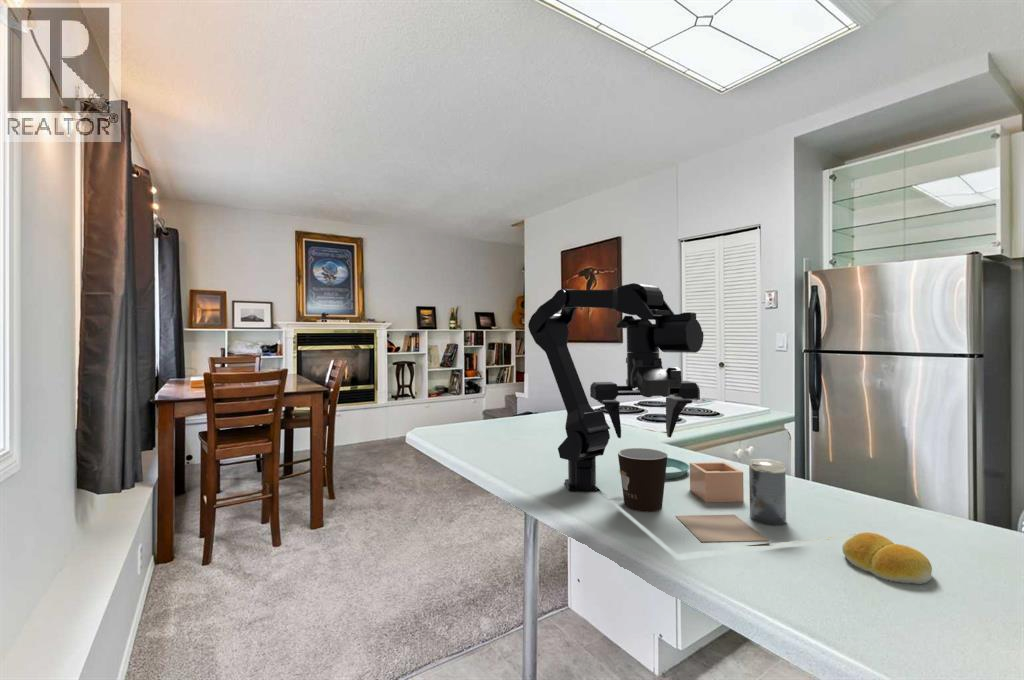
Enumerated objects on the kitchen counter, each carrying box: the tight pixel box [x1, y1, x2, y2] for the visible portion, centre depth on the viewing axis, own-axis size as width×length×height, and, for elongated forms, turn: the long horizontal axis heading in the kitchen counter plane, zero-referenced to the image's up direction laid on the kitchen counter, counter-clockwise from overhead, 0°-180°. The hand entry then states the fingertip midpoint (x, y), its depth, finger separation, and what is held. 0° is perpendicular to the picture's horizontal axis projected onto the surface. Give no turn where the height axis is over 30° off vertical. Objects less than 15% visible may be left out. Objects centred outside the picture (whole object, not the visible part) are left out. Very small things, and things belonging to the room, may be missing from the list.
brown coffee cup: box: [617, 447, 668, 513], centre depth 84 cm, size 12×9×10 cm
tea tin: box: [748, 458, 787, 527], centre depth 75 cm, size 5×5×10 cm
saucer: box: [665, 457, 690, 480], centre depth 104 cm, size 15×15×3 cm
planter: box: [689, 461, 745, 503], centre depth 87 cm, size 7×7×6 cm
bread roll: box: [842, 532, 933, 585], centre depth 60 cm, size 8×9×4 cm
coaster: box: [675, 514, 770, 547], centre depth 72 cm, size 10×10×1 cm
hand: (644, 437), depth 84 cm, fingers open, 9 cm apart
